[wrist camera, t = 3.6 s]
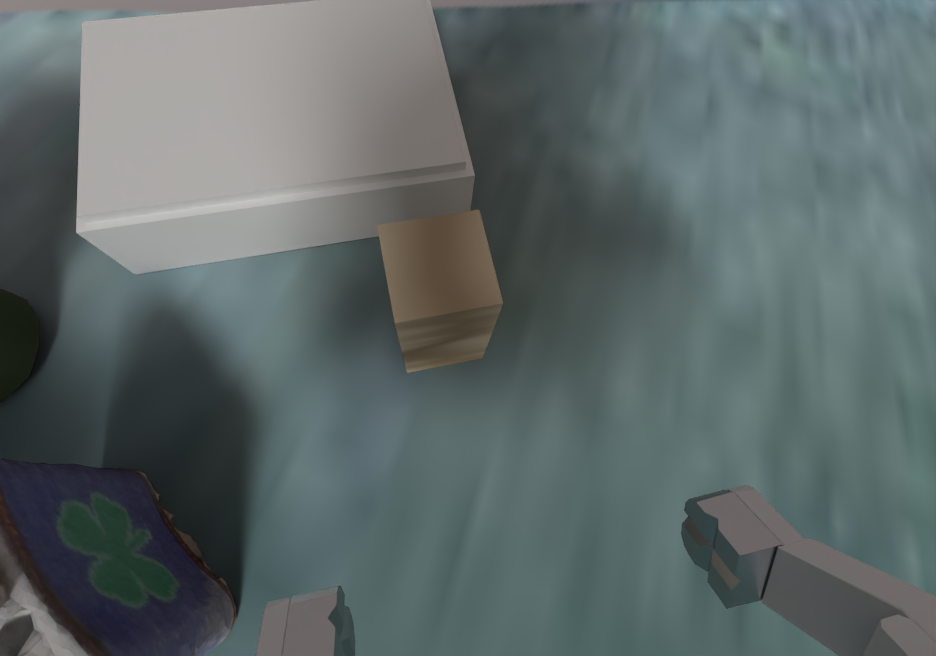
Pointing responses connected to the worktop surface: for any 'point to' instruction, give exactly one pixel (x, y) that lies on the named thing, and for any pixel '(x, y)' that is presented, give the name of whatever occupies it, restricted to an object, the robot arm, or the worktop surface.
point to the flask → (100, 568)
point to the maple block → (441, 288)
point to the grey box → (264, 130)
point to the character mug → (16, 342)
